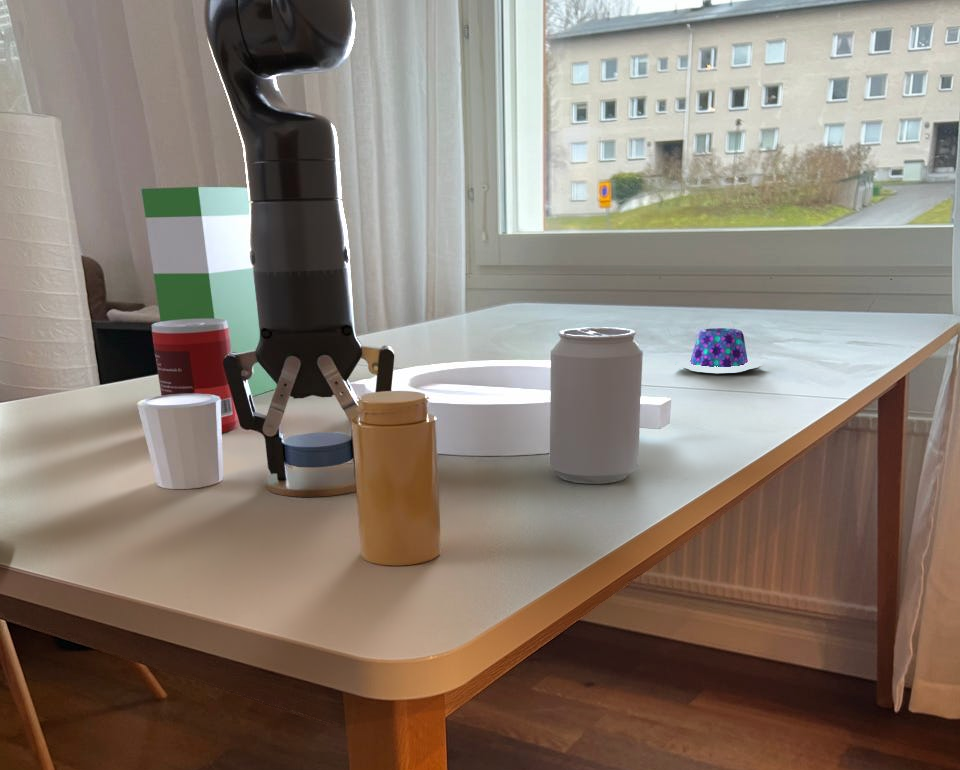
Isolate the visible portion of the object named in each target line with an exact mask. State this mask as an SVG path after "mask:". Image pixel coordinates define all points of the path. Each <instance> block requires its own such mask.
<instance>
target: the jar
mask: <svg viewBox="0 0 960 770" xmlns="http://www.w3.org/2000/svg"><path fill="white" fill-rule="evenodd" d="M428 402H429V397H428V395H426V394H424V393H420V392H414V391H383V392H374V393H369V394H364V395H362V396H360V397H358V408H356V409H357V412H359V416H358V417H355V418H353V419H352V421H351V423H350V425H351V428H352V439H353V452H354V464H353V465H354V466H355V480H356V491H355V493H356V506H357V518H358V521H357V522H358V533H359V548H360V556H361V558H362V559H363V560H365V561H366V562H368V563H371V564H375V565H380V566H390V567H391V566H393V567H394V566H395V567H397V566H410V565H417V564H422V563H426V562H429V561H432V560H434V559H436V558H437V557H439V555H440V554H441V553H442V537H441V513H440V512H441V511H440V487H439V461H438V459H439V458H438V454H437V433H436V417H435V416H434V415H431V414H428Z"/></svg>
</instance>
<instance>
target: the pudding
mask: <svg viewBox="0 0 960 770" xmlns="http://www.w3.org/2000/svg"><path fill="white" fill-rule="evenodd" d="M747 354H748V353H747V348H746V341H745V334H744V332H743V331H742V330H740V329H736V328H726V327H717V328H713V327H712V328H706V329H705V328H704V329H701V330H700V331H699V332H698V334H697V337H696V340H695V343H694V346H693V350H692V354H691V357H690V359H691V360H690V362H691V364H693V365H701V366H709V367H714V366H716V367H717V366H718V367H731V366H740V365H744V364H745V363H747V362H748V360H749V359H748V355H747Z"/></svg>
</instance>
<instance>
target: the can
mask: <svg viewBox="0 0 960 770" xmlns="http://www.w3.org/2000/svg"><path fill="white" fill-rule="evenodd" d="M636 335H637V333H636V332H635V330H634V329H629V328H621V327H579V328H578V327H576V328H568V329H564V330H560V331H559V332H558V336H559V341H558V342H557V343H556V344H555V345H554V346H553V348H552V349H551V350H550V361H551V374H550V453H549V467H550V469H552V470H553V471H554V473H556V474H557V475H558V477H559V478H560V479H562V480H565V481H568V482H569V483H570V482H571V483H577V484H587V485H601V484H602V485H603V484H611V483H617V482H621V481H623V480H626V479H627V478H628V477H629V475H630V474H632V473H633V472H634V471H635V470H636V469H637V468H638V467H639V447H640V446H639V445H640V428H639V427H640V405H641V397H642V380H643V359H644V358H643V356H644V351H643V349H642V348H641V347H640V346H639V344H638V343H637V342H636V341H635V340H634V339H635V336H636ZM627 476H628V477H627ZM625 478H626V479H625Z"/></svg>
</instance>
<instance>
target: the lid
mask: <svg viewBox="0 0 960 770" xmlns="http://www.w3.org/2000/svg"><path fill="white" fill-rule="evenodd" d="M283 449H284V458H285V463H287V466H288V465H289V466H292V467H327V466H334V465H339V464H347V463H348V462H351V461H353V450H352V437H351V435H350V434H346V433H342V432H325V431H324V432H310V433H309V432H308V433H302V434H296V435H292V436H289V437H285V438H284V441H283Z"/></svg>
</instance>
